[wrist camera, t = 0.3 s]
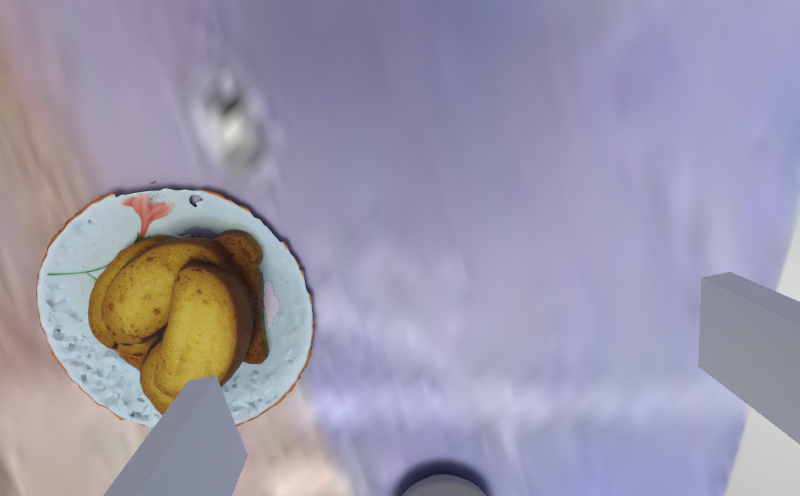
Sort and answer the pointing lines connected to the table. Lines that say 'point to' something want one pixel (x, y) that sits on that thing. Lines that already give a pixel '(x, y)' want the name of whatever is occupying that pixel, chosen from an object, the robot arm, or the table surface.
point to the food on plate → (173, 304)
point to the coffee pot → (443, 487)
